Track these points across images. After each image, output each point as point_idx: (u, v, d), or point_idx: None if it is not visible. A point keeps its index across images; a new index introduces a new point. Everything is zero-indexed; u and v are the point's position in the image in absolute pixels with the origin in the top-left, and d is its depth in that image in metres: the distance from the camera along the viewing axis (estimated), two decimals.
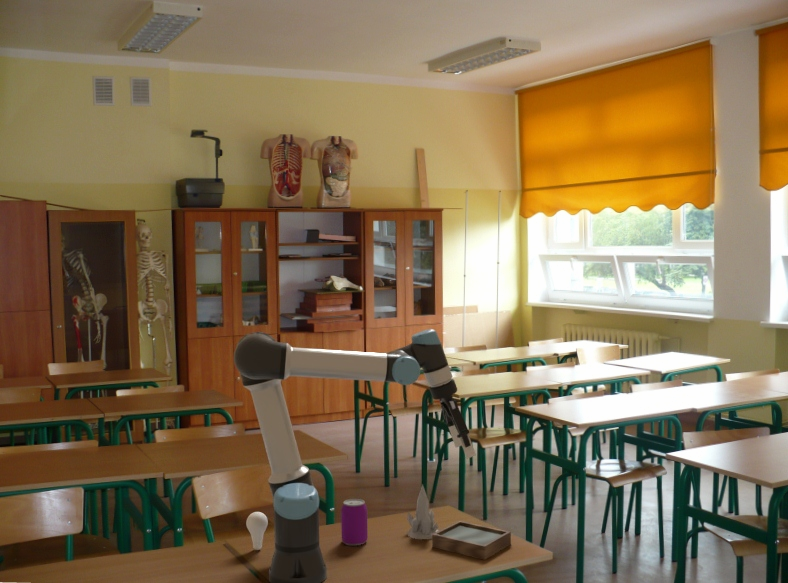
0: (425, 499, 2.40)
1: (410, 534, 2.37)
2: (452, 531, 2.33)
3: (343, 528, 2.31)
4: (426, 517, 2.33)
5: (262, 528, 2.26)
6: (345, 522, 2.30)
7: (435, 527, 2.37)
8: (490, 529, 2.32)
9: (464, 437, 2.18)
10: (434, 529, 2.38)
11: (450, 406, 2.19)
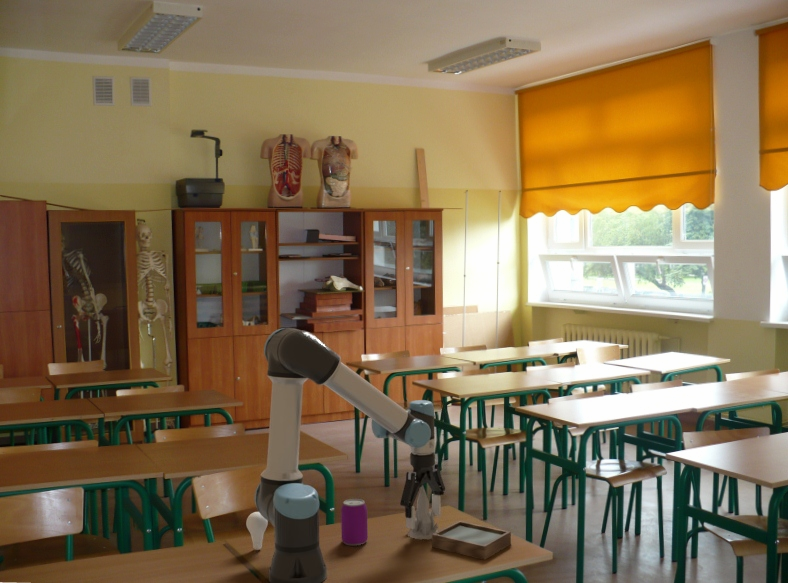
0: (425, 499, 2.40)
1: (410, 534, 2.37)
2: (452, 531, 2.33)
3: (343, 528, 2.31)
4: (426, 517, 2.33)
5: (262, 528, 2.26)
6: (345, 522, 2.30)
7: (435, 527, 2.37)
8: (490, 529, 2.32)
9: (406, 508, 2.32)
10: (434, 529, 2.37)
11: (407, 476, 2.34)
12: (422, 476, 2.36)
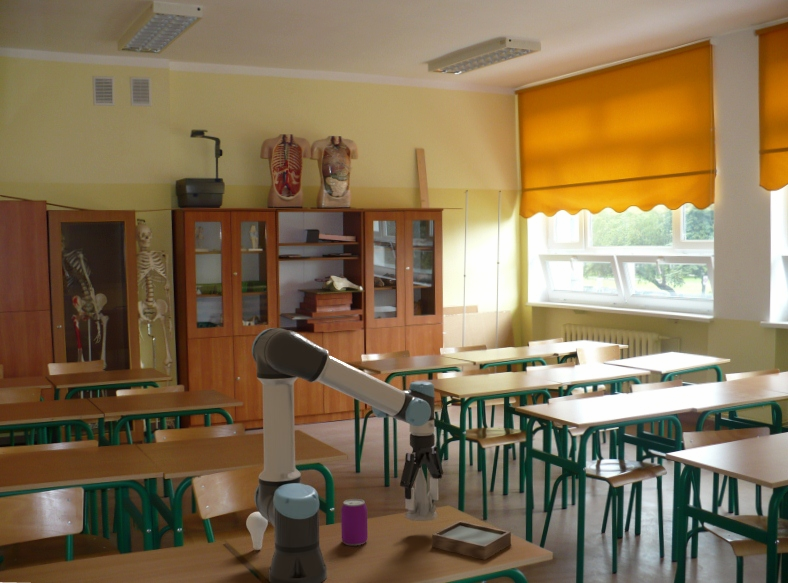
0: (423, 480, 2.39)
1: (408, 516, 2.36)
2: (452, 531, 2.33)
3: (343, 528, 2.31)
4: (424, 498, 2.32)
5: (262, 528, 2.26)
6: (345, 522, 2.30)
7: (433, 509, 2.37)
8: (490, 529, 2.32)
9: (406, 489, 2.32)
10: (432, 511, 2.37)
11: (406, 457, 2.33)
12: (421, 457, 2.36)
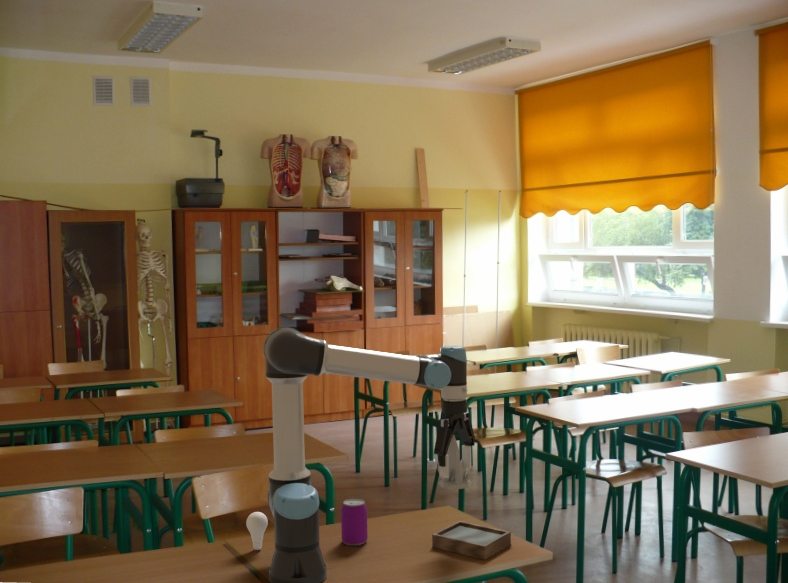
0: (456, 448, 2.32)
1: (441, 484, 2.29)
2: (452, 531, 2.33)
3: (343, 528, 2.31)
4: (459, 465, 2.25)
5: (262, 528, 2.26)
6: (345, 522, 2.30)
7: (467, 476, 2.30)
8: (490, 529, 2.32)
9: (440, 456, 2.25)
10: (466, 478, 2.30)
11: (439, 423, 2.26)
12: (455, 423, 2.28)
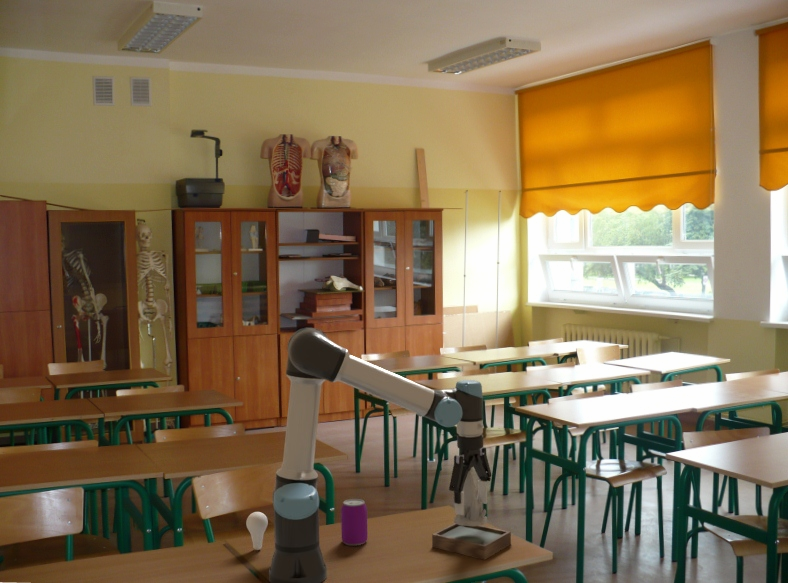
0: (472, 484, 2.29)
1: (457, 521, 2.26)
2: (452, 531, 2.33)
3: (343, 528, 2.31)
4: (475, 502, 2.22)
5: (262, 528, 2.26)
6: (345, 522, 2.30)
7: (483, 513, 2.26)
8: (490, 529, 2.32)
9: (455, 493, 2.22)
10: (482, 515, 2.27)
11: (455, 459, 2.23)
12: (470, 459, 2.25)
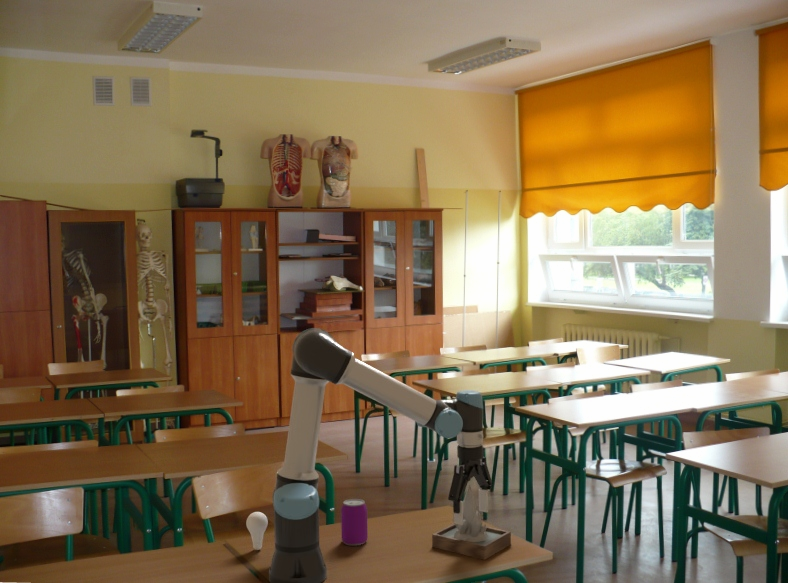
0: (472, 499, 2.29)
1: (457, 537, 2.26)
2: (452, 531, 2.33)
3: (343, 528, 2.31)
4: (476, 518, 2.22)
5: (262, 528, 2.26)
6: (345, 522, 2.30)
7: (484, 528, 2.27)
8: (490, 529, 2.32)
9: (454, 503, 2.22)
10: (482, 531, 2.27)
11: (455, 469, 2.23)
12: (470, 470, 2.25)
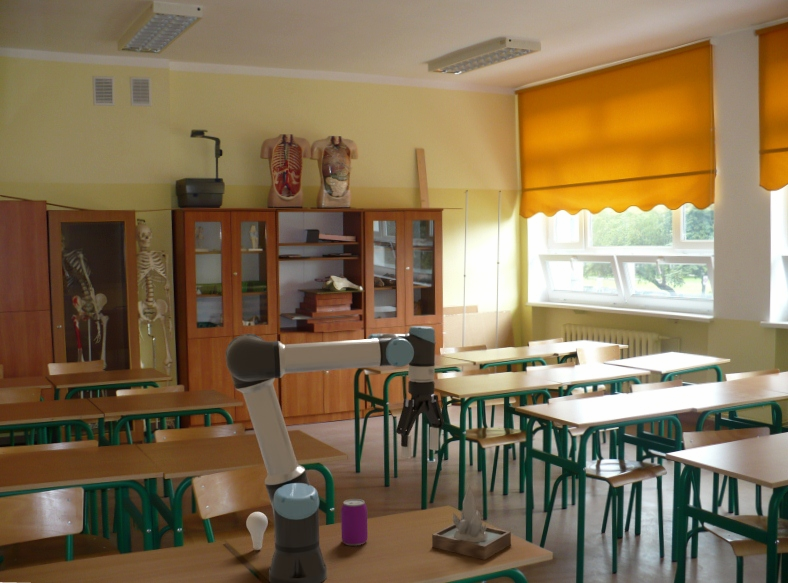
0: (472, 499, 2.29)
1: (457, 537, 2.26)
2: (452, 531, 2.33)
3: (343, 528, 2.31)
4: (476, 518, 2.22)
5: (262, 528, 2.26)
6: (345, 522, 2.30)
7: (484, 528, 2.27)
8: (490, 529, 2.32)
9: (402, 436, 2.20)
10: (482, 531, 2.27)
11: (404, 402, 2.22)
12: (420, 404, 2.24)
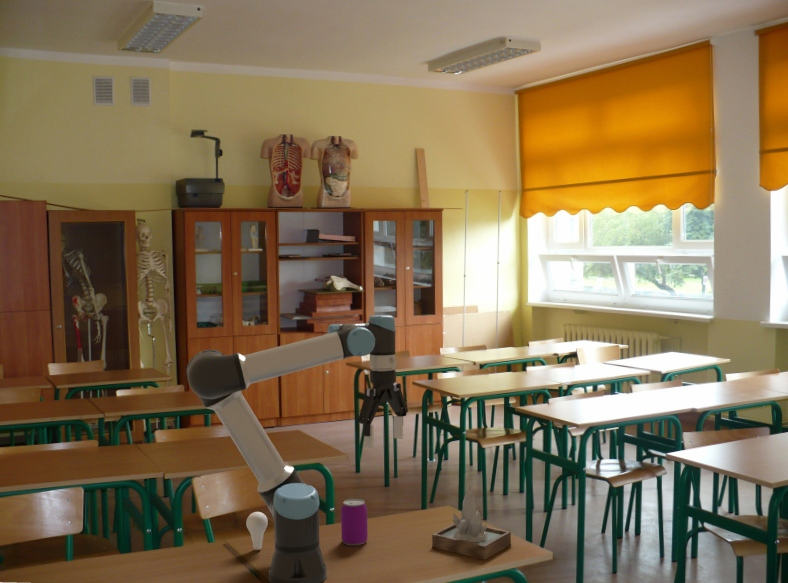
0: (472, 499, 2.29)
1: (457, 537, 2.26)
2: (452, 531, 2.33)
3: (343, 528, 2.31)
4: (476, 518, 2.22)
5: (262, 528, 2.26)
6: (345, 522, 2.30)
7: (484, 528, 2.27)
8: (490, 529, 2.32)
9: (364, 426, 2.20)
10: (482, 531, 2.27)
11: (365, 392, 2.21)
12: (382, 393, 2.23)
